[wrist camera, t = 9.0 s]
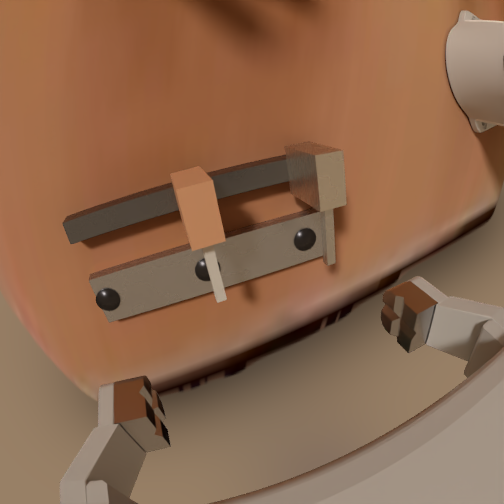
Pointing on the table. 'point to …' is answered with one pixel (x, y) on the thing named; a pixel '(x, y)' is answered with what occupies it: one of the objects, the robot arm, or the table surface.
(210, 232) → the block
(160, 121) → the table surface
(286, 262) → the hole strip
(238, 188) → the rail
